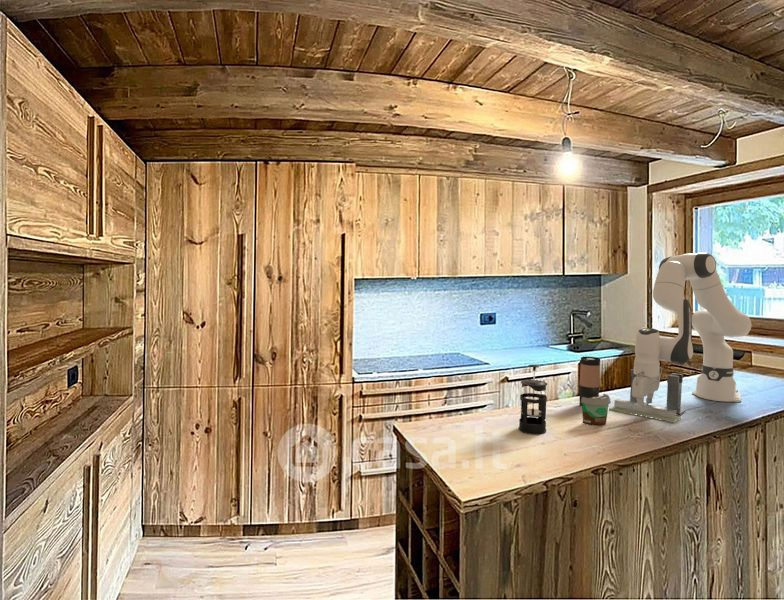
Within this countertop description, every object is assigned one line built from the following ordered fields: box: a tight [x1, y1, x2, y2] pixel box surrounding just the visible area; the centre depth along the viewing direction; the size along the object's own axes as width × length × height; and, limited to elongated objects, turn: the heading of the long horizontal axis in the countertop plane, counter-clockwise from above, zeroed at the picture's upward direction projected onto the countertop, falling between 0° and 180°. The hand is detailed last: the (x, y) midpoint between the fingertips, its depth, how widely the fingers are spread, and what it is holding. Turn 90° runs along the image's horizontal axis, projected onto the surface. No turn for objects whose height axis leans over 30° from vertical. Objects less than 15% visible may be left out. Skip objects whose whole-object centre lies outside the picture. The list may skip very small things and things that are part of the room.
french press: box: [518, 364, 548, 435], centre depth 180 cm, size 12×9×23 cm
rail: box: [613, 398, 677, 419], centre depth 202 cm, size 3×22×3 cm, turn 45°
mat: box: [608, 405, 682, 424], centre depth 202 cm, size 8×24×1 cm, turn 45°
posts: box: [629, 368, 687, 416], centre depth 210 cm, size 7×21×15 cm, turn 45°
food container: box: [581, 393, 612, 427], centre depth 188 cm, size 12×6×10 cm, turn 117°
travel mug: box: [578, 356, 601, 407], centre depth 212 cm, size 8×8×20 cm
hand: (644, 405), depth 202 cm, fingers open, 8 cm apart
